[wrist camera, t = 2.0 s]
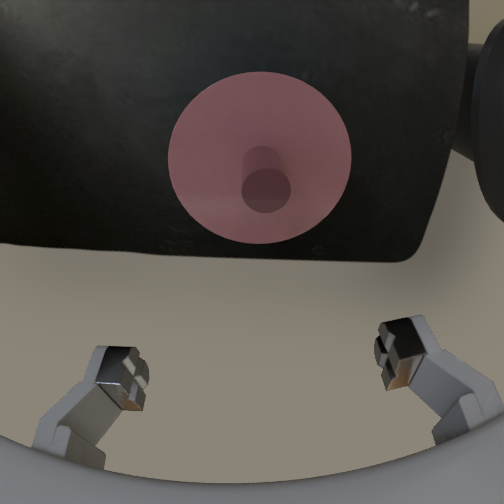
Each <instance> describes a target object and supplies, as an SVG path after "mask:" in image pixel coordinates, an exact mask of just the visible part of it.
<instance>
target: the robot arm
mask: <svg viewBox="0 0 504 504" xmlns="http://www.w3.org/2000/svg"><path fill="white" fill-rule="evenodd" d="M378 331H379V334H380V335H379V336H378V337H377V338H376V340H375V344H374V353H375V358H376V361H377V364H378V365H379V366H380V367H382V368H383V371H382V374H381V376H382V379H383V382H384V385H385V388H386V391H387V390H392V389H397V388H401V387H405V386H408V387H409V388H410V389H411V390H412V391H413V392H414V393H415V394H416V395H417V396H419V397H420V398H421V399H422V400H423V401H424V402H425V403H426V404H427V405H428V406H429V407H430V408H431V409H433V410H434V411H435V412H436V413H437V414H438V415H439V416H440V417H441V418H442V419H441V420H440V421H439V422H438V423H437V424H436V425H435V426H434V428H433V430H432V434H433V437H434V441H435V444H436V446H434V447H431V448H428V449H426V450H423V451H420V452H417V453H414V454H411V455H408V456H405V457H402V458H398V459H395V460H392V461H388V462H385V463H381V464H377V465H374V466H370V467H365V468H361V469H356V470H352V471H348V472H342V473H337V474H331V475H326V476H320V477H313V478H306V479H298V480H288V481H277V482H262V483H231V484H230V483H229V484H228V483H195V482H181V481H169V480H160V479H153V478H145V477H139V476H132V475H127V474H121V473H117V472H112V471H107V470H104V465H105V459H106V455H105V453H104V452H103V451H101V450H100V449H98V448H97V447H95V445H96V444H97V443H98V442H99V440H100V439H101V438H102V436H103V435H104V434H105V433H106V431H107V430H108V429H109V428H110V426H111V425H112V424H113V423H114V421H115V420H116V419H117V417H118V416H119V415H120V414H121V412H122V410H129V411H143V406H144V401H145V397H146V396H145V393H144V391H143V389H144V388H145V387H146V386H147V385H148V382H149V369H148V366H147V364H146V362H145V360H143V359H141V358H140V357H139V354H140V352H139V351H138V350H137V348H136V347H121V346H118V347H117V346H97V347H96V348H95V349H94V351H93V354H92V357H91V360H90V362H89V365H88V367H87V370H86V373H85V376H84V379H83V381H82V382H79V383H78V384H76V385H75V386H74V387H73V388H72V389H71V390H70V391H69V392H68V393H67V394H66V395H65V396H64V397H63V398H61V399H60V401H58V402H57V403H56V404H55V405H54V406H53V407H52V408H51V409H50V410H49V411H48V412H47V413H46V414H45V415H44V416H42V418H40V421H39V424H38V427H37V430H36V434H35V438H34V440H33V444H32V447H31V448H30V447H27V446H24V445H22V444H20V443H17V442H15V441H13V440H10V439H8V438H6V437H4V436H1V435H0V504H504V405H503V402H502V400H501V398H500V396H499V393H498V391H497V389H496V387H495V385H494V383H493V381H491V380H490V379H488V378H487V377H485V376H484V375H482V374H481V373H479V372H478V371H477V370H475V369H474V368H472V367H471V366H469V365H468V364H466V363H465V362H463V361H461V360H460V359H459V358H457V357H456V356H454V355H453V354H451V353H450V352H448V351H447V350H441V348H440V346H439V344H438V342H437V340H436V338H435V336H434V334H433V332H432V331H431V329H430V327H429V325H428V323H427V321H426V319H425V318H424V316H423V315H417V316H412V317H408V318H407V317H406V318H401V319H397V320H392V321H387V322H382V323H381V324H380V326H379V329H378Z"/></svg>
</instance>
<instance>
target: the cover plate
mask: <svg viewBox="0 0 504 504" xmlns="http://www.w3.org/2000/svg"><path fill="white" fill-rule="evenodd" d="M168 167H169V174H170V179H171V182H172V185H173V188H174V190H175V192H176V195H177V197H178V199H179V200H180V202H181V203H182V205H183V206H184V208H185V209H186V210H187V211H188V213H189V214H190V215H191V216H192V217H193V218H194V219H195V220H196V221H197V222H199V223H200V224H201V225H203V226H204V227H205V228H207V229H208V230H210V231H212V232H214V233H215V234H217V235H220V236H222V237H225V238H227V239H231V240H234V241H238V242H244V243H254V244H263V243H273V242H279V241H283V240H287V239H290V238H293V237H295V236H298V235H300V234H302V233H304V232H306V231H308V230H309V229H311V228H312V227H314V226H315V225H317V224H318V223H319V222H320V221H322V220H323V219H324V218H325V217H326V216H327V215H328V214H329V213H330V212H331V210H332V209H333V208H334V207H335V205H336V204H337V202H338V201H339V199H340V198H341V196H342V194H343V192H344V190H345V187H346V184H347V181H348V178H349V173H350V169H351V145H350V140H349V136H348V133H347V130H346V127H345V124H344V122H343V120H342V119H341V117H340V115H339V113H338V112H337V110H336V109H335V108H334V106H333V105H332V104H331V103H330V102H329V101H328V99H327V98H326V97H325V96H324V95H322V94H321V93H320V92H319V91H317V90H316V89H315V88H313V87H312V86H310V85H308V84H306V83H305V82H303V81H301V80H298V79H296V78H293V77H291V76H287V75H283V74H279V73H272V72H248V73H243V74H237V75H234V76H231V77H228V78H225V79H223V80H221V81H219V82H216V83H214V84H212V85H211V86H209V87H208V88H206V89H205V90H204V91H202V92H201V93H200V94H199V95H197V96H196V97H195V98H194V99H193V100H192V101H191V102H190V103H189V105H188V106H187V107H186V108H185V109H184V111H183V112H182V114H181V116H180V117H179V119H178V121H177V123H176V125H175V127H174V130H173V132H172V136H171V140H170V143H169V151H168Z"/></svg>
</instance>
